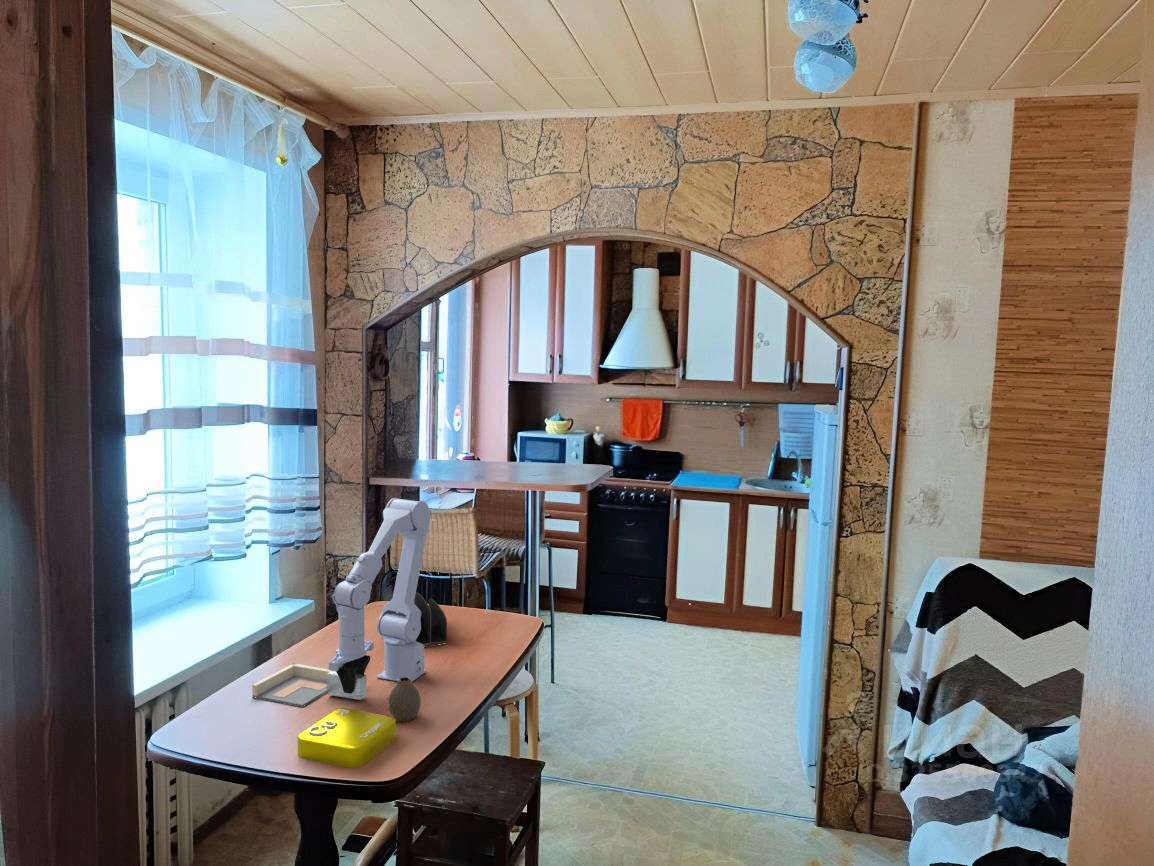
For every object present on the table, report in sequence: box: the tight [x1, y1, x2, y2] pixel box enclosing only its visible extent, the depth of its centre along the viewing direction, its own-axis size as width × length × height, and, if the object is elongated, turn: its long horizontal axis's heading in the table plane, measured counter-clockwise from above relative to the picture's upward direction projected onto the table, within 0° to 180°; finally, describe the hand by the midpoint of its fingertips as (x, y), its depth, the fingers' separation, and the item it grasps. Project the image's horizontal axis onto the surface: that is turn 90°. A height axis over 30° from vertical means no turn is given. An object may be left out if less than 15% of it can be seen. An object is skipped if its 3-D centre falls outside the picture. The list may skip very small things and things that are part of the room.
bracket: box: [326, 671, 368, 701], centre depth 182 cm, size 9×8×5 cm
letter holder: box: [397, 591, 448, 647], centre depth 222 cm, size 10×20×14 cm, turn 24°
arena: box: [251, 663, 331, 708], centre depth 183 cm, size 14×14×3 cm
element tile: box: [297, 707, 397, 769], centre depth 157 cm, size 15×15×5 cm
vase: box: [388, 677, 422, 722], centre depth 170 cm, size 7×7×9 cm
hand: (352, 689), depth 179 cm, fingers closed on bracket, 2 cm apart
